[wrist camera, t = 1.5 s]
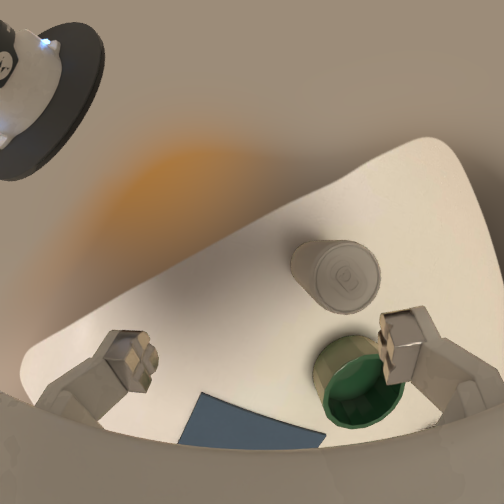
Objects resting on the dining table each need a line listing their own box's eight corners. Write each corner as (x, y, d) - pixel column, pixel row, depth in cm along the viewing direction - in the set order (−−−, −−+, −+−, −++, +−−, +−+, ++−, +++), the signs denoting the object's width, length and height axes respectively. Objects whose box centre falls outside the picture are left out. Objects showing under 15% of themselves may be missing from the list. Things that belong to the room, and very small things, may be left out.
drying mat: (172, 455, 31) (171, 457, 30) (201, 392, 30) (201, 393, 30) (282, 490, 31) (282, 492, 30) (326, 433, 30) (326, 435, 30)
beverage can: (314, 230, 30) (350, 223, 18) (345, 265, 30) (396, 279, 18) (280, 263, 30) (294, 278, 18) (312, 297, 30) (344, 332, 18)
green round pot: (299, 389, 30) (307, 418, 24) (334, 324, 30) (351, 342, 24) (360, 408, 30) (376, 435, 24) (395, 348, 30) (419, 367, 24)
